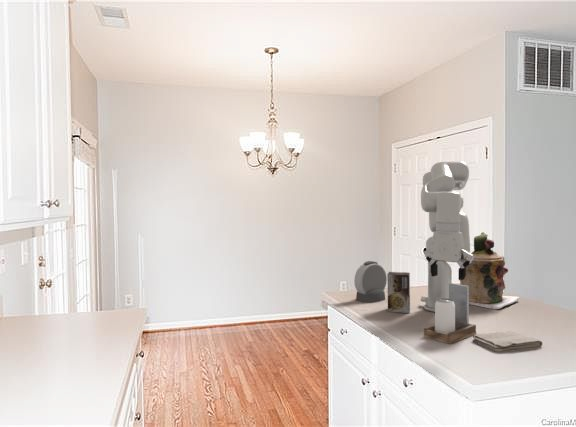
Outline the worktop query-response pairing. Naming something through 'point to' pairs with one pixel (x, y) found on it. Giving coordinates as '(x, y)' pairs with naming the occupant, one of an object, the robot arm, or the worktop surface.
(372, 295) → the alarm clock
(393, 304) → the coffee box
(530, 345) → the washcloth
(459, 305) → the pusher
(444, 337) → the wooden tray
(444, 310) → the can
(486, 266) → the cookie jar
